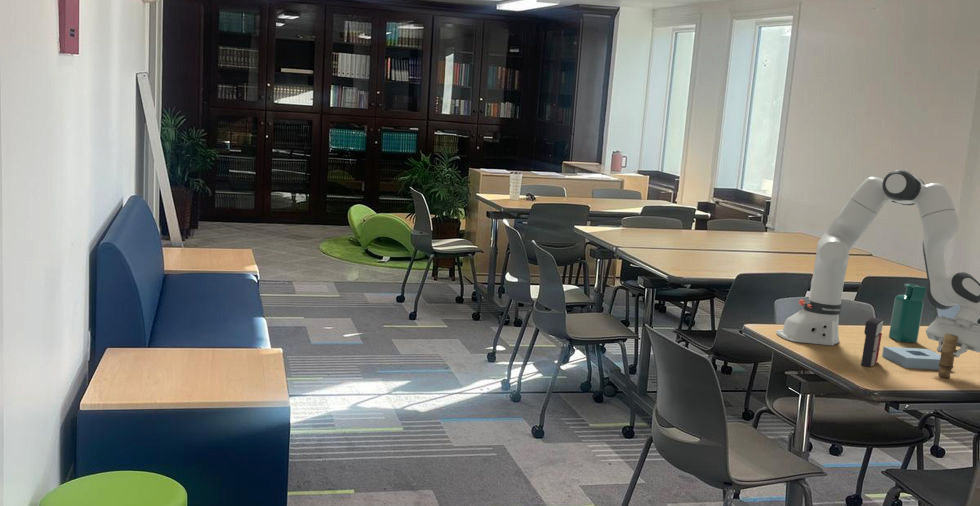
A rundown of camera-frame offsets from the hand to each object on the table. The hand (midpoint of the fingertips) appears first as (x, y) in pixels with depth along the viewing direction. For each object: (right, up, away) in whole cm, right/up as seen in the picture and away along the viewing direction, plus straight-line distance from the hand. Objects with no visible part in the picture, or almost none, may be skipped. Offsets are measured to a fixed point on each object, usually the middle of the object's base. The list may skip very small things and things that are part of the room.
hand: (947, 353), depth 303 cm
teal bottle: (+9, -1, +52) cm, 53 cm away
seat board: (-2, -5, +17) cm, 18 cm away
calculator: (-22, -5, +10) cm, 24 cm away
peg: (0, -8, +2) cm, 8 cm away
